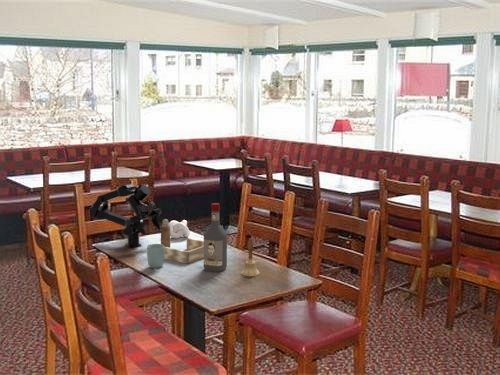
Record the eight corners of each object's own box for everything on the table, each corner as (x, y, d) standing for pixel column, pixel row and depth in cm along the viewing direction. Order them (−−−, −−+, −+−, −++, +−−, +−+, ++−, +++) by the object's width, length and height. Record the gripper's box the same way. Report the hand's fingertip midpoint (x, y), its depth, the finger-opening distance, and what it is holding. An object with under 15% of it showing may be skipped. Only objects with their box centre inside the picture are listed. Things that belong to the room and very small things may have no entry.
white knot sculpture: (171, 233, 340) (170, 217, 339) (192, 234, 339) (192, 218, 338) (166, 239, 329) (166, 222, 328) (188, 239, 328) (188, 223, 327)
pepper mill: (159, 251, 305) (159, 218, 302) (168, 250, 307) (168, 217, 305) (163, 253, 301) (162, 220, 298) (171, 252, 304) (171, 219, 301)
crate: (161, 259, 293) (161, 246, 292) (187, 249, 309) (187, 238, 308) (188, 264, 284) (188, 252, 283) (213, 254, 301) (213, 243, 300)
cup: (166, 265, 283) (166, 244, 282) (162, 270, 276) (162, 248, 274) (149, 264, 284) (149, 243, 282) (145, 269, 276) (145, 247, 275)
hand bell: (242, 276, 268) (243, 241, 266) (239, 271, 276) (240, 236, 274) (261, 276, 270) (262, 240, 267) (257, 270, 278) (258, 235, 275)
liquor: (209, 264, 285) (210, 201, 280) (228, 267, 282) (228, 202, 277) (201, 270, 276) (201, 204, 271) (220, 272, 273) (221, 206, 268)
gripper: (128, 202, 298) (144, 229, 295) (158, 193, 312) (173, 218, 308) (119, 213, 306) (135, 240, 302) (149, 204, 319) (164, 229, 316)
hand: (152, 231), depth 307 cm, fingers open, 9 cm apart
